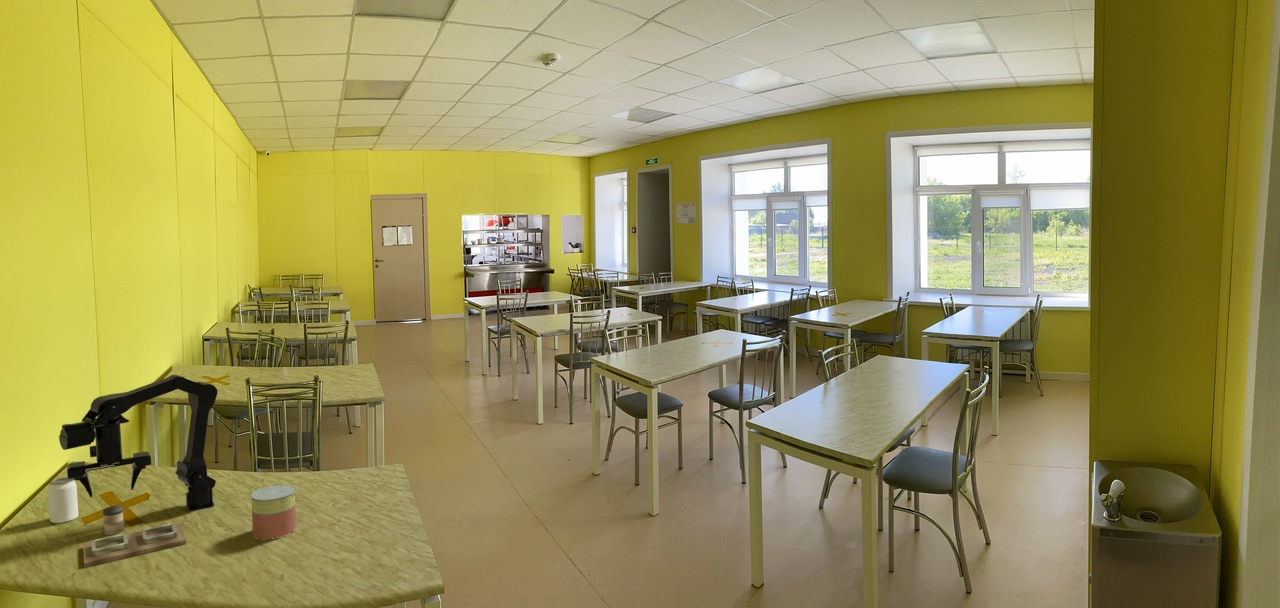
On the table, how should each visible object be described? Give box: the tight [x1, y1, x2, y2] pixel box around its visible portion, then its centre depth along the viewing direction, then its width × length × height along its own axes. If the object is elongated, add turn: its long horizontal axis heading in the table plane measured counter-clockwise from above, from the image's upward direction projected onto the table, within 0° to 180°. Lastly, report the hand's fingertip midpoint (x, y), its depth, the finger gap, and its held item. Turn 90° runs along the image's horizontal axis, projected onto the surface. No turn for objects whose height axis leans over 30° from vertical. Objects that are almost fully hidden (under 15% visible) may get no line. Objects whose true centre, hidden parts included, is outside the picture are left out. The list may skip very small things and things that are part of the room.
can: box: [47, 477, 79, 524], centre depth 200 cm, size 6×6×12 cm
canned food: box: [250, 484, 297, 540], centre depth 196 cm, size 11×11×12 cm
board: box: [82, 522, 187, 568], centre depth 186 cm, size 22×14×3 cm, turn 130°
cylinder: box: [102, 505, 125, 536], centre depth 193 cm, size 4×4×7 cm
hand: (112, 493), depth 193 cm, fingers open, 9 cm apart
